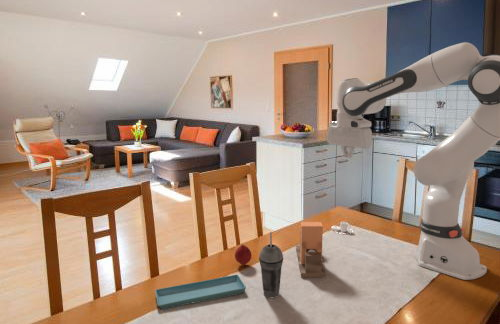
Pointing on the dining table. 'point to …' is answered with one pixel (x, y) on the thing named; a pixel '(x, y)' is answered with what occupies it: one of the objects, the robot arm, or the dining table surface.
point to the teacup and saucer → (341, 227)
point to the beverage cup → (271, 268)
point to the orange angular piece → (310, 238)
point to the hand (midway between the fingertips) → (347, 157)
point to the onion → (243, 254)
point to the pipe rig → (311, 263)
